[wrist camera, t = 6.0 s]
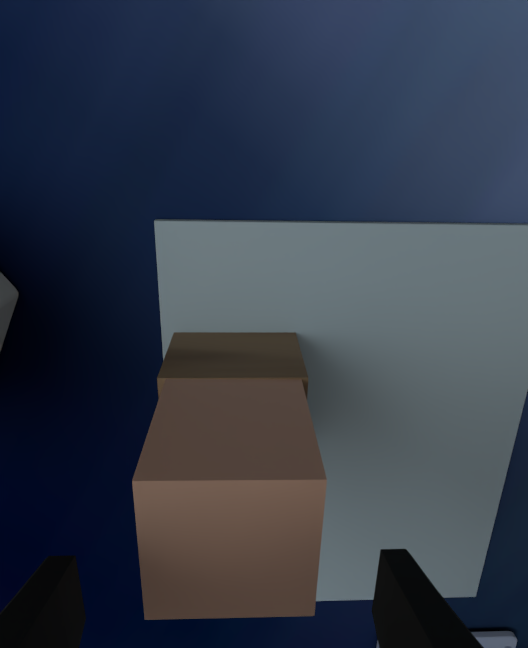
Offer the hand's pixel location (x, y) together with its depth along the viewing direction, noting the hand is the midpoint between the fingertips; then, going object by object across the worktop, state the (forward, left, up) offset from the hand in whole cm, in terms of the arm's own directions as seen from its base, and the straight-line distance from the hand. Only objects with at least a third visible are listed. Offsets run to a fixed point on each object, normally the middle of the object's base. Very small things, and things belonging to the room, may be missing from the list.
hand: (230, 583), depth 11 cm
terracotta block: (0, 0, -6) cm, 6 cm away
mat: (-3, -5, -10) cm, 12 cm away
